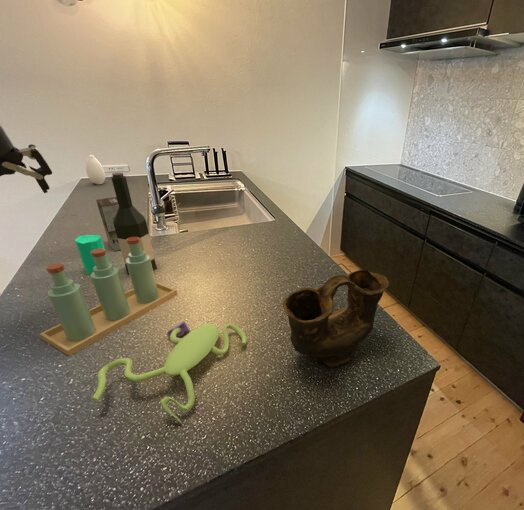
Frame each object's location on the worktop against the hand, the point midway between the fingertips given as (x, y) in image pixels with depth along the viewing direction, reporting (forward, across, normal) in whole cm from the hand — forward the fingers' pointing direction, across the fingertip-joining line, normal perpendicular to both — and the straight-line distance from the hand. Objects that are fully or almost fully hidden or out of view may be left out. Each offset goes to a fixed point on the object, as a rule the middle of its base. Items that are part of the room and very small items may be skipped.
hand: (19, 196), depth 66 cm
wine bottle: (+31, -15, +6) cm, 35 cm away
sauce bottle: (+75, -24, -99) cm, 126 cm away
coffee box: (+40, -15, -16) cm, 45 cm away
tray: (+22, -5, +24) cm, 33 cm away
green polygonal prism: (+33, -5, -2) cm, 33 cm away
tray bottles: (+23, -8, +23) cm, 33 cm away
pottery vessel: (+11, -38, +66) cm, 77 cm away
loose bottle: (+19, +3, +26) cm, 32 cm away
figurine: (+13, -10, +49) cm, 52 cm away
